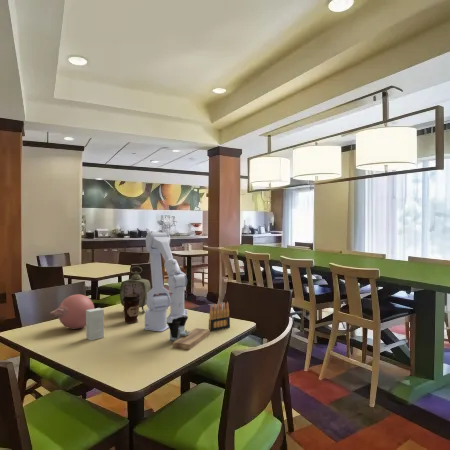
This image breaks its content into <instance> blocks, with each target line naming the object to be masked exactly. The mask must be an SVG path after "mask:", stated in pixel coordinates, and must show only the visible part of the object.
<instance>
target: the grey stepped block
mask: <svg viewBox="0 0 450 450" xmlns="http://www.w3.org/2000/svg"><path fill="white" fill-rule="evenodd" d="M189 332H190V330H188V329H185V326H179V328H178V335H177V338H173V337H172V336H171V332H170V331H169V340H170V341H173V342H175V341H176V340H178V339H179V338H181V337H182V336H186V335H187V334H189Z"/></svg>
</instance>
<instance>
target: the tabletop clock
mask: <svg viewBox="0 0 450 450" xmlns="http://www.w3.org/2000/svg"><path fill="white" fill-rule="evenodd" d="M133 268H139V269H140V271H139V272H138V271H136V270H135V271H132V269H133ZM129 271H130V273H131V274H132V276H131V278H130V279H127V280H124V281H121V284H120V288H119V289H120V290H119V299H120V300H119V301H120V304H121V306H123V307H124V304H123V298H124V297H125V295H129V294H137V295H140V297H139V298H140V301H139V308H141V309H142V312H141V313H142V314H144V315H145V312H146V310H144V306H147V303H146V300H147V293H148V292H149V291H150V290H151V289H152V288H151V287H152V286H151V282H150V280H148V279H145V278H142V277H141V275H140V274H141V273H142V272H143V268H142V267H140V265H134V266H131V267H130V268H129ZM122 312H123V313H124V309H123V310H122Z"/></svg>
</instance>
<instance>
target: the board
mask: <svg viewBox="0 0 450 450" xmlns="http://www.w3.org/2000/svg"><path fill="white" fill-rule="evenodd" d="M210 335H211V331H210V330H209V328H208V329H207V328H206V329H205V328H199V327H193V329H191V330H189V334H187V335H186V336H182V337H181V338H179V339H178V340H176V341H173V346H172V347H173V348H176V349H180V350H181V349H182V350H192V349H193V348H194V347H195V346H196V345H198V344H199V343H200V342H201V341H203V340H205V339H206V338H207V337H208V336H210Z"/></svg>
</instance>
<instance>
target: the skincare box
mask: <svg viewBox="0 0 450 450" xmlns="http://www.w3.org/2000/svg"><path fill="white" fill-rule="evenodd" d="M104 310H105V309H103V308H101V307H97V308H94V309H90V310H86V326H85V334H86V336H85V338H86V340H88V341H95V340H98V339H104V337H105V332H104V331H105V329H104V328H105V327H104V326H105V325H104V324H105V321H104V320H105V319H104V317H105V316H104V315H105V313H104V312H105V311H104Z"/></svg>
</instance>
